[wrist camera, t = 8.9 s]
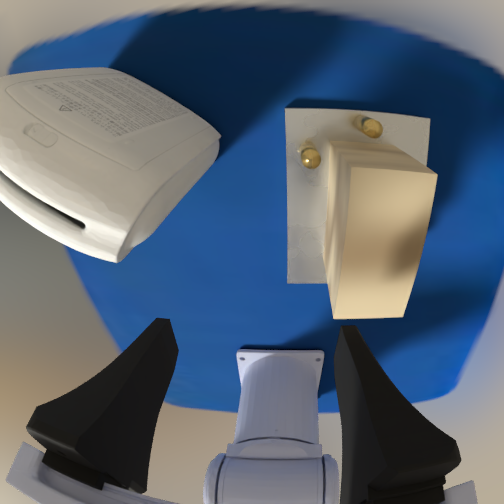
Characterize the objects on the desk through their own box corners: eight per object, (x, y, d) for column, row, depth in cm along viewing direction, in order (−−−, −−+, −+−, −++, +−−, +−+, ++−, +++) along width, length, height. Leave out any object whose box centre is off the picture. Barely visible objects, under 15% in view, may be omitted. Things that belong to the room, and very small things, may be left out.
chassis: (401, 275, 22) (414, 302, 19) (287, 276, 23) (287, 305, 20) (424, 117, 15) (448, 124, 13) (284, 107, 16) (285, 111, 14)
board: (378, 258, 20) (402, 317, 15) (323, 258, 21) (333, 318, 15) (393, 145, 16) (437, 174, 11) (329, 140, 16) (351, 167, 11)
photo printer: (82, 113, 17) (-62, 170, 7) (107, 59, 15) (-49, 74, 5) (198, 186, 20) (108, 314, 9) (234, 133, 18) (157, 216, 7)
